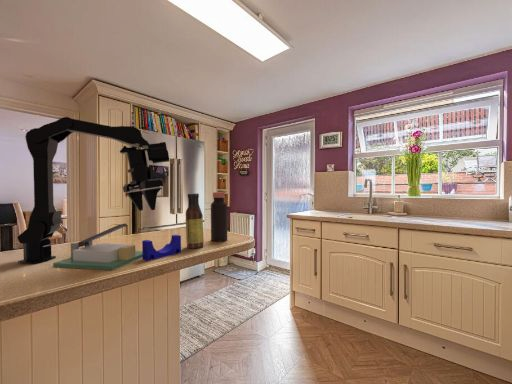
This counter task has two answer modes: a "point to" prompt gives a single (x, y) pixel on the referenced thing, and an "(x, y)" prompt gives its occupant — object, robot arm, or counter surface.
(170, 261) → the counter surface
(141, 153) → the robot arm
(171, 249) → the blue cradle block
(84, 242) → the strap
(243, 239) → the counter surface
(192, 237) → the sauce bottle
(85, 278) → the counter surface
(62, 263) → the board
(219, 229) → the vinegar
